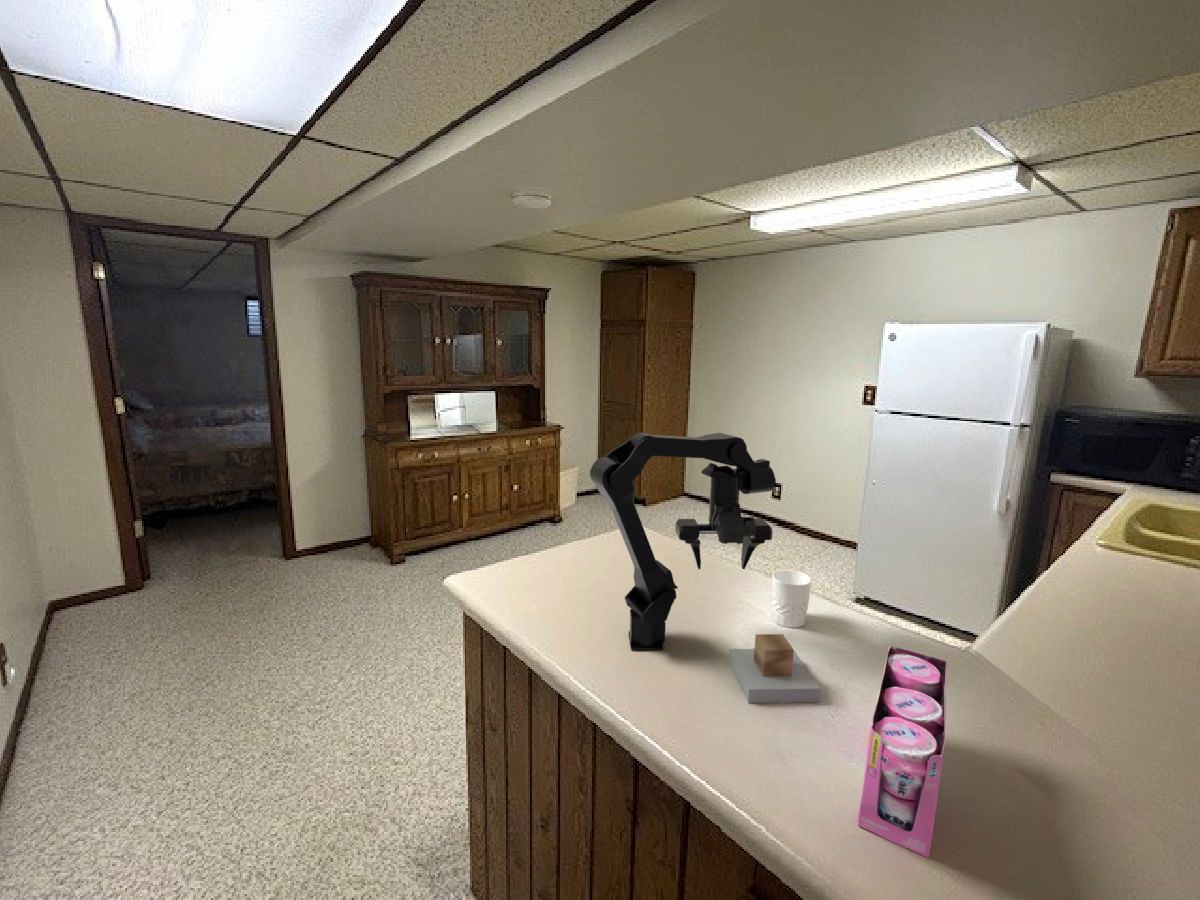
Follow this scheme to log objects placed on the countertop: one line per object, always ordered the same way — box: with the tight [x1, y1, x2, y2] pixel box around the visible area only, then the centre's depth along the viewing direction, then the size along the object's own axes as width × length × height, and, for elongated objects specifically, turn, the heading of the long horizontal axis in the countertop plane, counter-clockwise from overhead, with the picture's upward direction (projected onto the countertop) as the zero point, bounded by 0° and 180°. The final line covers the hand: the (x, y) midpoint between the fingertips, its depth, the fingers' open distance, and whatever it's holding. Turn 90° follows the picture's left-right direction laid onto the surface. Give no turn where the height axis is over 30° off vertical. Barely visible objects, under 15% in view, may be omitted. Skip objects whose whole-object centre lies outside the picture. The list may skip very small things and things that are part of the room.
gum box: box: [857, 645, 948, 858], centre depth 71 cm, size 24×8×14 cm, turn 146°
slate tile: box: [728, 648, 822, 704], centre depth 94 cm, size 12×12×2 cm
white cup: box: [771, 569, 813, 629], centre depth 114 cm, size 8×8×10 cm
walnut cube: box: [754, 633, 795, 676], centre depth 93 cm, size 5×5×5 cm
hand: (721, 568), depth 110 cm, fingers open, 9 cm apart
